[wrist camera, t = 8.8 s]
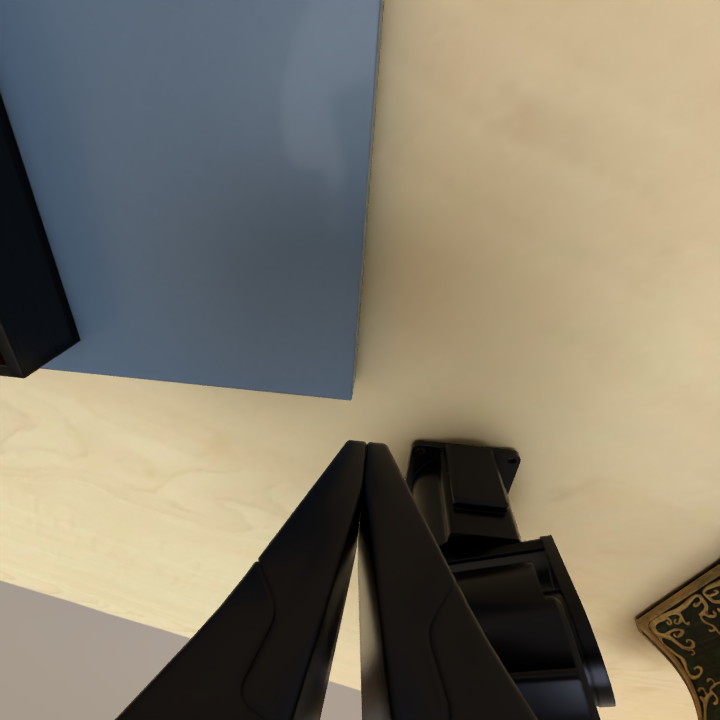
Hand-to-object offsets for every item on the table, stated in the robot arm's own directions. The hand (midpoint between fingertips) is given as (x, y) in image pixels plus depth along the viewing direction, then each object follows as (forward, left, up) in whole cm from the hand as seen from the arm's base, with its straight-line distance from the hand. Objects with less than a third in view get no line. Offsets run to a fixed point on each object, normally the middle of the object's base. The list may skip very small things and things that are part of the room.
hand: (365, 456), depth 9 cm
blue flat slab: (+3, +13, -12) cm, 18 cm away
